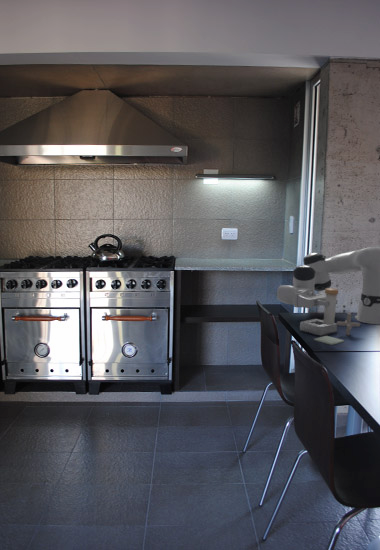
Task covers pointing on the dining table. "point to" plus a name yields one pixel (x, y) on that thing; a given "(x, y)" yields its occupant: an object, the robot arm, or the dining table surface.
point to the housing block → (317, 327)
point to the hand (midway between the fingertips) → (332, 303)
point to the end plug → (330, 306)
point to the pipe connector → (348, 324)
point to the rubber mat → (329, 340)
